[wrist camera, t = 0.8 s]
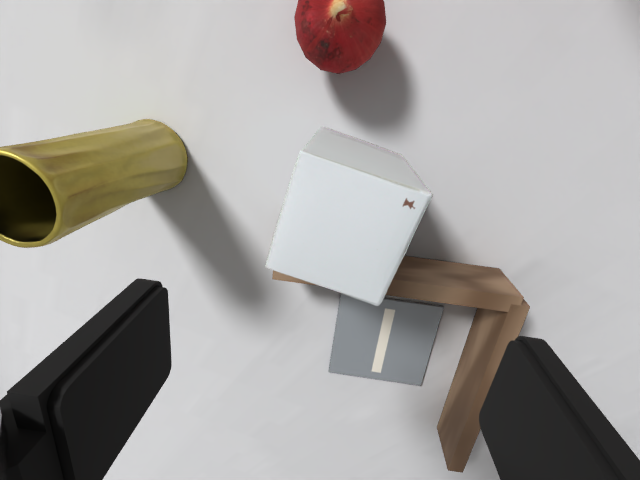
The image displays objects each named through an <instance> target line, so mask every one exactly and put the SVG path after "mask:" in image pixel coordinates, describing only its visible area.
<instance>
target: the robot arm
mask: <svg viewBox="0 0 640 480" xmlns="http://www.w3.org/2000/svg"><path fill="white" fill-rule="evenodd" d="M170 370H171V345H170V325H169V305H168V291H167V289H166V288H163V287H162V284H161V282H159V281H153V280H146V279H136V280H135V281H134V282H132V283H131V284H130V285H129V286H128V287H127V288H125V289H124V290H123V291H122V292H121V293H120V294H119V295H117V296H116V297H115V298H114V299H113V300H112V301H111V302H109V303H108V304H107V305H106V306H105V307H104V308H103V309H101V310H100V311H99V312H98V313H97V314H96V315H94V316H93V317H92V318H91V319H90V320H89V321H88V322H86V323H85V324H84V325H83V326H82V327H81V328H80V329H78V330H77V331H76V332H75V333H74V334H73V335H72V336H70V337H69V338H68V339H67V340H66V341H65V342H63V343H62V344H61V345H60V346H59V347H58V348H57V349H55V350H54V351H53V352H52V353H51V354H50V355H49V356H47V357H46V358H45V359H44V360H43V361H42V362H41V363H39V364H38V365H37V366H36V367H35V368H34V369H32V370H31V371H30V372H29V373H28V374H27V375H26V376H24V377H23V378H22V379H21V380H20V381H19V382H18V383H16V384H15V385H14V386H13V387H12V388H11V389H10V390H8V391H7V395H6V396H5V397H4V398H2V399H1V400H0V480H102V479H103V478H104V476H105V475H106V473H107V472H108V470H109V468H110V467H111V465H112V464H113V462H114V461H115V459H116V457H117V456H118V454H119V453H120V451H121V450H122V448H123V447H124V445H125V443H126V442H127V440H128V439H129V437H130V436H131V434H132V432H133V431H134V429H135V428H136V426H137V425H138V423H139V422H140V420H141V418H142V417H143V415H144V414H145V412H146V411H147V409H148V407H149V406H150V404H151V403H152V401H153V400H154V398H155V397H156V395H157V393H158V392H159V390H160V389H161V387H162V386H163V384H164V383H165V381H166V379H167V378H168V376H169V373H170ZM479 424H480V428H481V430H482V433H483V436H484V438H485V441H486V443H487V446H488V448H489V451H490V454H491V456H492V459H493V461H494V464H495V466H496V469H497V471H498V474H499V477H500V479H501V480H640V460H639V459H638V458H637V456H636V455H635V454H634V453H633V451H632V450H631V449H630V447H629V446H628V445H627V444H626V442H625V441H624V440H623V439H622V437H621V436H620V435H619V434H618V432H617V431H616V430H615V428H614V427H613V426H612V425H611V423H610V422H609V421H608V420H607V418H606V417H605V416H604V415H603V413H602V412H601V411H600V409H599V408H598V407H597V406H596V404H595V403H594V402H593V401H592V399H591V398H590V397H589V396H588V394H587V393H586V392H585V390H584V389H583V388H582V387H581V385H580V384H579V383H578V382H577V380H576V379H575V378H574V377H573V375H572V374H571V373H570V371H569V370H568V369H567V368H566V366H565V365H564V364H563V363H562V361H561V360H560V359H559V358H558V356H557V355H556V354H555V352H554V351H553V350H552V349H551V347H550V346H549V345H548V344H547V342H546V341H544V340H542V339H538V338H531V337H525V336H518V337H517V338H516V339H515V340H512V341H510V342H509V343H508V345H507V347H506V350H505V352H504V355H503V357H502V359H501V362H500V364H499V367H498V369H497V372H496V374H495V376H494V379H493V381H492V384H491V386H490V388H489V391H488V393H487V396H486V398H485V401H484V403H483V405H482V408H481V410H480V413H479Z"/></svg>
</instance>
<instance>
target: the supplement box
mask: <svg viewBox="0 0 640 480" xmlns="http://www.w3.org/2000/svg"><path fill="white" fill-rule="evenodd" d="M431 198H432V193H431V191H430V190H429V189H428V188H427V187H426V185H425V184H424V183H423V181H422V180H421V179H420V178H419V176H418V175H417V174H416V172H415V171H414V170H413V169H412V167H411V166H410V165H409V163H408V162H407V161H406V160H405V158H404V157H403V156H402V155H401V154H398V153H395V152H393V151H390V150H387V149H384V148H382V147H379V146H376V145H374V144H371V143H368V142H366V141H363V140H360V139H357V138H354V137H352V136H349V135H346V134H343V133H341V132H338V131H335V130H332V129H329V128H326V127H320V129H319V130H318V131H317V132H316V133H315V135H314V136H313V137H312V138H311V140H310V141H309V142H308V143H307V145H306V146H305V147H304V148H303V149H302V150H301V151H300V153H299V156H298V158H297V161H296V164H295V167H294V170H293V174H292V177H291V180H290V183H289V186H288V190H287V193H286V196H285V199H284V202H283V206H282V209H281V212H280V216H279V219H278V222H277V226H276V229H275V233H274V236H273V240H272V243H271V247H270V250H269V254H268V258H267V262H266V266H265V267H266V268H267V269H271V270H274V271H277V272H280V273H283V274H286V275H289V276H292V277H295V278H298V279H301V280H304V281H307V282H310V283H313V284H316V285H319V286H322V287H325V288H328V289H331V290H333V291H336V292H339V293H342V294H344V295H347V296H350V297H353V298H355V299H358V300H361V301H364V302H367V303H370V304H372V305H375V306H379V305H380V304H381V303H382V301H383V298H384V296H385V294H386V292H387V290H388V288H389V286H390V284H391V282H392V279H393V277H394V275H395V273H396V271H397V269H398V267H399V265H400V263H401V261H402V259H403V257H404V255H405V253H406V251H407V249H408V246H409V244H410V242H411V240H412V238H413V235H414V233H415V231H416V229H417V227H418V225H419V223H420V221H421V219H422V217H423V214H424V212H425V210H426V208H427V206H428V204H429V202H430V201H431Z"/></svg>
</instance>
